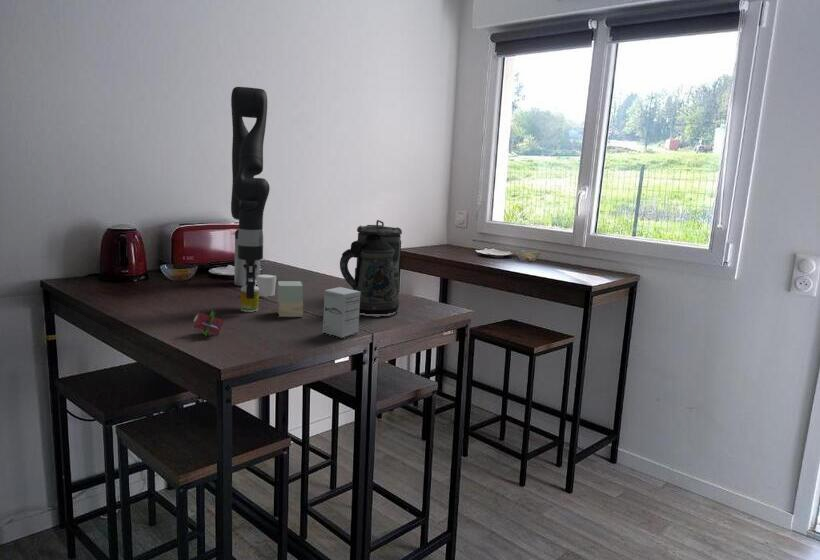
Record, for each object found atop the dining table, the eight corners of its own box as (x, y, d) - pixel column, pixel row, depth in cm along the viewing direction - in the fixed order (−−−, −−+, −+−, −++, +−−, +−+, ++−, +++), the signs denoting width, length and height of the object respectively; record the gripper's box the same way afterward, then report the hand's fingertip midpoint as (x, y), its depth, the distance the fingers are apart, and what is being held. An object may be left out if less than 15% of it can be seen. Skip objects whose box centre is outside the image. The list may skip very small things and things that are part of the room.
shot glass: (251, 296, 208) (252, 276, 207) (262, 292, 215) (263, 273, 214) (269, 298, 206) (269, 278, 205) (279, 295, 213) (280, 275, 212)
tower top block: (277, 296, 188) (277, 281, 187) (300, 296, 190) (300, 281, 189) (278, 302, 182) (279, 285, 181) (302, 302, 184) (302, 286, 183)
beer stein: (408, 312, 200) (413, 236, 196) (372, 322, 185) (376, 240, 180) (369, 303, 209) (372, 231, 205) (331, 312, 194) (334, 234, 189)
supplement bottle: (253, 313, 186) (254, 282, 184) (237, 311, 187) (237, 280, 185) (261, 309, 191) (261, 279, 190) (245, 307, 192) (245, 277, 190)
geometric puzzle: (226, 322, 166) (208, 300, 162) (232, 329, 160) (213, 306, 156) (204, 339, 164) (185, 317, 160) (209, 346, 158) (190, 324, 154)
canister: (348, 294, 221) (352, 217, 216) (389, 293, 227) (393, 219, 221) (360, 304, 206) (364, 222, 201) (404, 303, 212) (409, 223, 207)
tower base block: (277, 312, 189) (277, 297, 188) (300, 312, 191) (300, 297, 190) (278, 318, 183) (279, 302, 182) (302, 318, 185) (302, 302, 184)
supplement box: (321, 334, 168) (323, 289, 166) (339, 329, 175) (340, 286, 172) (342, 339, 164) (344, 294, 162) (359, 334, 171) (361, 290, 168)
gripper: (264, 247, 180) (263, 300, 182) (262, 241, 193) (261, 291, 196) (237, 246, 177) (237, 300, 180) (237, 240, 191) (237, 290, 194)
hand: (249, 295), depth 188 cm, fingers open, 8 cm apart
